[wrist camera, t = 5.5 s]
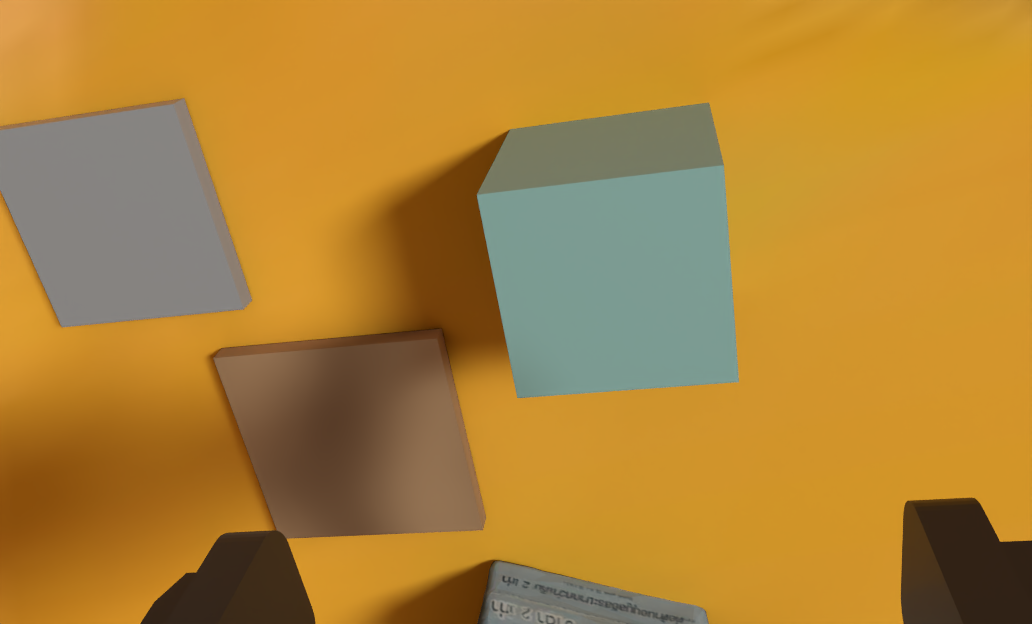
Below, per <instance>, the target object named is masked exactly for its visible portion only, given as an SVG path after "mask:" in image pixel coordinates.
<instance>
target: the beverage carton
mask: <svg viewBox="0 0 1032 624" xmlns="http://www.w3.org/2000/svg"><path fill="white" fill-rule="evenodd" d="M477 624H708V619H707V615H706V611H705V610H704V609H703V608H700V607H698V606H695V605H690V604H684V603H679V602H674V601H670V600H665V599H661V598H656V597H651V596H647V595H642V594H638V593H633V592H629V591H625V590H621V589H618V588H614V587H609V586H605V585H601V584H597V583H593V582H589V581H584V580H580V579H576V578H571V577H567V576H563V575H558V574H554V573H549V572H545V571H541V570H538V569H535V568H531V567H526V566H521V565H517V564H512V563H508V562H503V561H494V562H493V563H492V565H491V567H490V570H489V576H488V582H487V586H486V590H485V594H484V598H483V603H482V607H481V611H480V615H479V619H478V623H477Z"/></svg>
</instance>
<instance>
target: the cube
mask: <svg viewBox="0 0 1032 624" xmlns="http://www.w3.org/2000/svg"><path fill="white" fill-rule="evenodd" d="M477 199H478V204H479V209H480V214H481V219H482V224H483V229H484V234H485V239H486V244H487V249H488V254H489V259H490V264H491V269H492V274H493V279H494V284H495V289H496V294H497V299H498V304H499V309H500V314H501V318H502V323H503V328H504V333H505V338H506V343H507V348H508V353H509V358H510V363H511V368H512V373H513V378H514V383H515V388H516V393H517V398H525V397H539V396H553V395H566V394H580V393H594V392H608V391H621V390H635V389H649V388H663V387H676V386H690V385H704V384H718V383H731V382H739V378H738V364H737V349H736V335H735V320H734V306H733V292H732V277H731V263H730V248H729V234H728V220H727V205H726V191H725V176H724V164H723V160H722V156H721V151H720V147H719V143H718V139H717V135H716V130H715V126H714V122H713V118H712V113H711V109H710V105H709V103H703V104H695V105H688V106H681V107H673V108H666V109H658V110H651V111H643V112H636V113H628V114H621V115H614V116H606V117H599V118H591V119H584V120H576V121H569V122H562V123H554V124H547V125H539V126H532V127H524V128H517V129H510V131H509V133H508V135H507V136H506V138H505V140H504V142H503V144H502V146H501V148H500V150H499V152H498V154H497V156H496V158H495V160H494V162H493V164H492V166H491V168H490V170H489V172H488V174H487V176H486V178H485V180H484V182H483V183H482V185H481V187H480V189H479V191H478V193H477Z"/></svg>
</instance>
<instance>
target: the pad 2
mask: <svg viewBox="0 0 1032 624" xmlns="http://www.w3.org/2000/svg"><path fill="white" fill-rule="evenodd" d="M213 359H214V362H215V365H216V368H217V370H218V373H219V376H220V378H221V381H222V384H223V386H224V389H225V392H226V395H227V397H228V400H229V403H230V405H231V408H232V411H233V413H234V416H235V419H236V422H237V424H238V427H239V430H240V432H241V435H242V438H243V440H244V443H245V446H246V449H247V451H248V454H249V457H250V459H251V462H252V465H253V467H254V470H255V473H256V476H257V478H258V481H259V484H260V486H261V489H262V492H263V494H264V497H265V500H266V503H267V505H268V508H269V511H270V513H271V516H272V519H273V521H274V524H275V527H276V530H277V531H279V532H281V533H282V534H283V535H284V536H285V538H309V537H333V536H356V535H380V534H403V533H427V532H450V531H474V530H483V528H484V524H485V520H486V515H485V511H484V507H483V503H482V498H481V494H480V490H479V486H478V481H477V477H476V473H475V469H474V464H473V460H472V456H471V452H470V447H469V443H468V439H467V435H466V430H465V426H464V422H463V418H462V413H461V409H460V405H459V401H458V396H457V392H456V388H455V384H454V379H453V375H452V371H451V367H450V362H449V358H448V354H447V349H446V345H445V341H444V337H443V332H442V329H430V330H419V331H408V332H397V333H386V334H375V335H364V336H353V337H342V338H330V339H319V340H308V341H297V342H286V343H275V344H264V345H253V346H242V347H230V348H221V350H220V351H219V352H218V353H217V354H216V355H215V357H214V358H213Z"/></svg>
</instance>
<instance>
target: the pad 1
mask: <svg viewBox="0 0 1032 624" xmlns="http://www.w3.org/2000/svg"><path fill="white" fill-rule="evenodd" d="M0 191H1V193H2V195H3V197H4V199H5V202H6V204H7V206H8V208H9V211H10V213H11V215H12V217H13V220H14V222H15V224H16V226H17V228H18V231H19V233H20V235H21V237H22V240H23V242H24V244H25V246H26V248H27V251H28V253H29V255H30V257H31V260H32V262H33V264H34V266H35V269H36V271H37V273H38V275H39V277H40V280H41V282H42V284H43V286H44V289H45V291H46V293H47V295H48V297H49V300H50V302H51V304H52V306H53V309H54V311H55V313H56V315H57V317H58V320H59V322H60V324H61V326H62V327H70V326H80V325H90V324H100V323H110V322H120V321H130V320H140V319H150V318H160V317H171V316H181V315H191V314H201V313H211V312H221V311H231V310H241V309H244V308H245V307H246V306H247V305H248V304H249V303H250V302H251V301H252V299H251V296H250V293H249V290H248V287H247V284H246V281H245V278H244V275H243V272H242V269H241V266H240V263H239V260H238V257H237V254H236V251H235V248H234V245H233V242H232V239H231V236H230V233H229V230H228V227H227V224H226V221H225V218H224V215H223V212H222V209H221V207H220V204H219V201H218V198H217V195H216V192H215V189H214V186H213V183H212V180H211V177H210V174H209V171H208V168H207V165H206V162H205V159H204V156H203V153H202V150H201V147H200V144H199V141H198V138H197V135H196V132H195V129H194V126H193V123H192V120H191V117H190V114H189V111H188V108H187V106H186V103H185V100H184V98H183V99H176V100H170V101H163V102H157V103H150V104H144V105H137V106H131V107H124V108H118V109H111V110H104V111H98V112H91V113H85V114H78V115H72V116H65V117H59V118H52V119H46V120H39V121H33V122H26V123H19V124H13V125H6V126H0Z"/></svg>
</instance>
